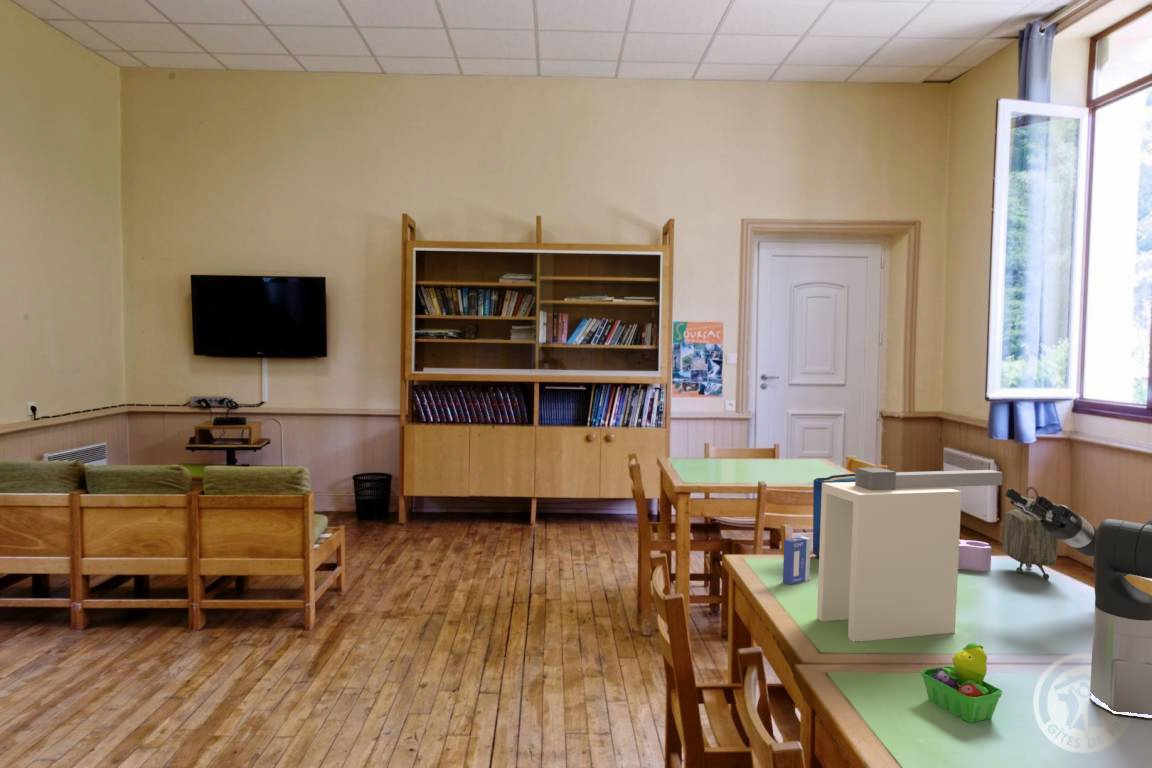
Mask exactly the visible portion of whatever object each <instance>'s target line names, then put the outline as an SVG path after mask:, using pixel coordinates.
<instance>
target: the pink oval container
mask: <svg viewBox="0 0 1152 768" xmlns="http://www.w3.org/2000/svg"><path fill="white" fill-rule="evenodd" d="M992 549H993V548H992V546H991V545H990V543H988V542H984V541H980V540H979V541H978V540H969V539H968V540H967V539H966V540H965V539H960V538H959V557H958V570H960V569H961V570H972V571H979V572H990V571H991V564H992V563H991V562H992Z"/></svg>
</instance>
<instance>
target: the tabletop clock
mask: <svg viewBox="0 0 1152 768" xmlns="http://www.w3.org/2000/svg"><path fill="white" fill-rule="evenodd" d="M1029 490H1033V491H1034V493H1035V495H1036V499H1037V497H1038V496H1039V492H1038V490H1037V488H1035V487H1034V486H1028V487H1027V488H1026V490H1025V491H1026V492H1025V495H1026V496H1025V497H1026V498H1028V499H1029V498H1033V499H1035V497H1034V496H1029ZM1036 499H1035V500H1036ZM1031 504H1032V505H1034V504H1035V503H1034V502H1031ZM1002 521H1003V523H1002V536H1001V537H1002V538H1001V540H1002V551H1003V552H1004V553H1005V554H1006V555H1007V556H1008V557H1010V558H1011V559H1012V560H1015V561H1017V562H1018V563H1020V564H1019V566H1018V567H1016V572H1017V573H1018V574H1022V573H1023V565H1025V567H1026V568H1027V569H1032V567H1033V565H1034V566H1037V567H1038V568H1039V570H1040V571H1041V572H1042V578H1043V579H1044V580H1049V579H1050V575H1049V574H1048V573H1046V572H1045V569H1044V567H1043V566H1050V567H1051V566H1052V567H1053V566H1055V565H1056V563H1057V558H1058V551H1059V550H1058V549H1059V539H1058V538H1056V537H1055V536H1053V535H1052V534H1050V533H1049V532H1047V531H1046V530H1045V529H1044V528H1043V527H1042V524H1041V519H1038V518H1036V517H1035V516H1034V515H1032V514H1030V513H1029V514H1026V513H1025V512H1023V511H1021V510H1020V509H1015V508H1014V509H1011V510H1008V511H1006V512H1004V515H1003V520H1002Z"/></svg>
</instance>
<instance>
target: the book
mask: <svg viewBox="0 0 1152 768" xmlns="http://www.w3.org/2000/svg"><path fill="white" fill-rule="evenodd" d="M855 476H856V473H847V474H845V473H843V474H837V475H836V474H835V475H830V476H828V477H818V478H817V477H816V478H815V479H813V502H812V504H813V505H812V506H813V508H812V510H813V513H812V515H813V516H812V521H813V522H812V554H813V555H814V556H816V557H817V558H818V557H819V550H820V523H821V496H822V483H835V482H855Z"/></svg>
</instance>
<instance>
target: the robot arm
mask: <svg viewBox="0 0 1152 768" xmlns="http://www.w3.org/2000/svg"><path fill="white" fill-rule="evenodd" d="M1005 497H1006V498H1008V499H1009V500H1010V501H1009V504H1010V505H1012V506H1014V507H1015V508H1017V510H1021V511H1023V512H1025V513H1026V514H1029V513H1030V514H1032V515H1034V516H1035V517H1036V518H1038V519H1041V524H1042V527H1043V528H1044V529H1045V530H1046V531H1047V532H1049V533H1050V534H1052V535H1053V536H1055V537H1056V538H1058V541H1061V542H1063V543H1064V544H1066V545H1068V546H1070V547H1072V548H1073V549H1074V550H1076V551H1077V552H1079V553H1080V554H1082V555H1084V556H1086V557H1093V563H1092V565H1093V566H1092V567H1093V569H1094V596H1095V597H1094V615H1093V616H1094V618H1093V629H1092V630H1093V631H1092V647H1091V648H1092V649H1091V665H1090V685H1089V686H1090V687H1089V693H1090V692H1091V693H1092V694H1093V695H1094V696H1095V697H1096V698H1098V699H1099V700H1100V701H1101V702H1103V703H1105V704H1106V705H1108V707H1109V708H1110V709H1111V710H1113V711H1116V712H1129V713H1130V712H1131V713H1137V714H1148V715H1152V595H1150V594H1148V593H1147V592H1145V591H1143V590H1141V589H1140V588H1138V587H1137V586H1135V585H1133V584H1132V583H1131V582H1130V581H1129V580H1128V579H1127V578H1126V576H1128V575H1130V576H1134V577H1135V576H1136V577H1140V578H1145V579H1152V518H1151V519H1149V520H1148V521H1147V522H1145V523H1141V522H1135V521H1128V520H1121V519H1116V518H1105V519H1103V520H1102V521H1101V522H1100V524H1099V525H1098V527H1097V528H1096V527H1095V526H1093V524H1091V523H1089V522H1088V520H1087V519H1085V518H1084V517H1083V516H1082V515H1080V514H1078V513H1077V512H1076V511H1074V510H1073V509H1071V508H1069V507H1068V506H1066V505H1064V504H1057V503H1056V502H1052V501H1050V500H1048V498H1045V497H1044V496H1043V495H1039V494H1038V497H1037V496H1036V497H1037V499H1035V498H1034V499H1033V498H1029V499H1028V498H1027V496H1024V495H1022V494H1020V493H1019V492H1018V491H1016V490H1014V489H1013V488H1007V490H1006V492H1005ZM1031 502H1034V503H1035V504H1034V505H1032V504H1031Z"/></svg>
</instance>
